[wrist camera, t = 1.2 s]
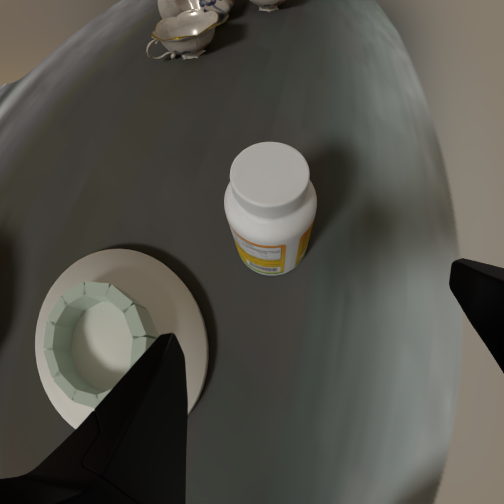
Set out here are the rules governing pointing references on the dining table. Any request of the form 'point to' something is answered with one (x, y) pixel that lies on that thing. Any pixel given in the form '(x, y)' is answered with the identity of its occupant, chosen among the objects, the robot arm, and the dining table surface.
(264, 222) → the supplement bottle
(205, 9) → the chinaware
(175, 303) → the carrier socket
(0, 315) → the dining table surface
